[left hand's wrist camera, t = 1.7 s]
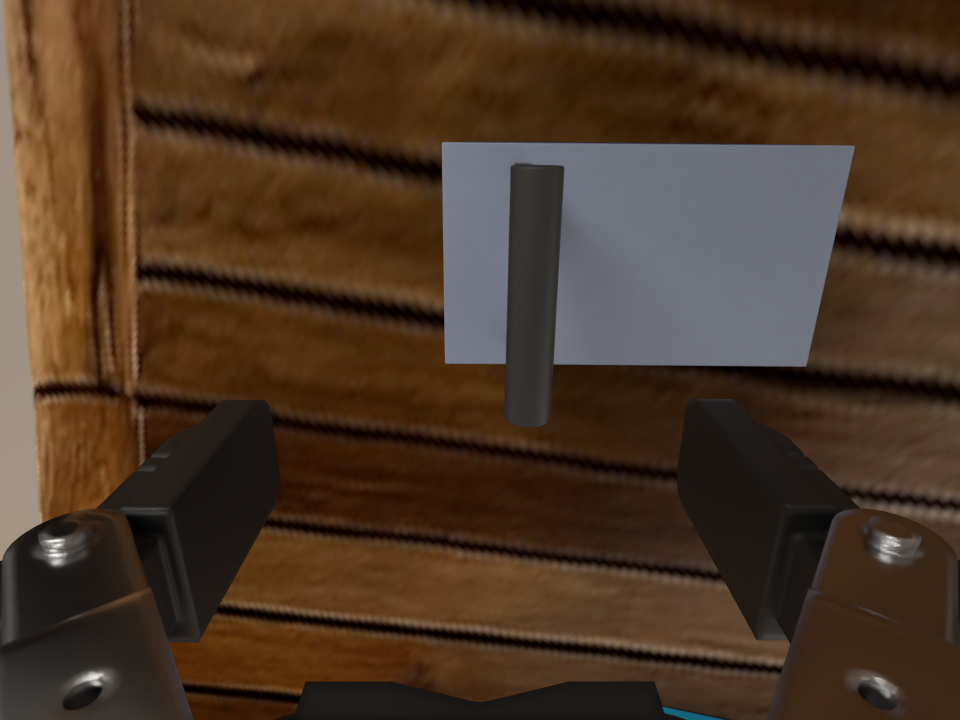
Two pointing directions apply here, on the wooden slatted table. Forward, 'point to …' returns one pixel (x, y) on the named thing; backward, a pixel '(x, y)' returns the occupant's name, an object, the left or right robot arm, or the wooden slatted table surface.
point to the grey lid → (633, 256)
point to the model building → (688, 715)
